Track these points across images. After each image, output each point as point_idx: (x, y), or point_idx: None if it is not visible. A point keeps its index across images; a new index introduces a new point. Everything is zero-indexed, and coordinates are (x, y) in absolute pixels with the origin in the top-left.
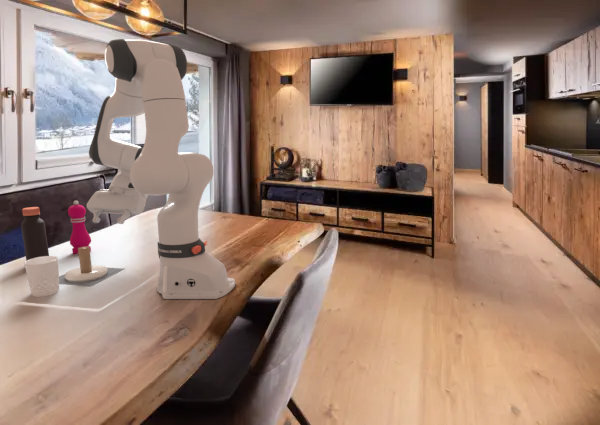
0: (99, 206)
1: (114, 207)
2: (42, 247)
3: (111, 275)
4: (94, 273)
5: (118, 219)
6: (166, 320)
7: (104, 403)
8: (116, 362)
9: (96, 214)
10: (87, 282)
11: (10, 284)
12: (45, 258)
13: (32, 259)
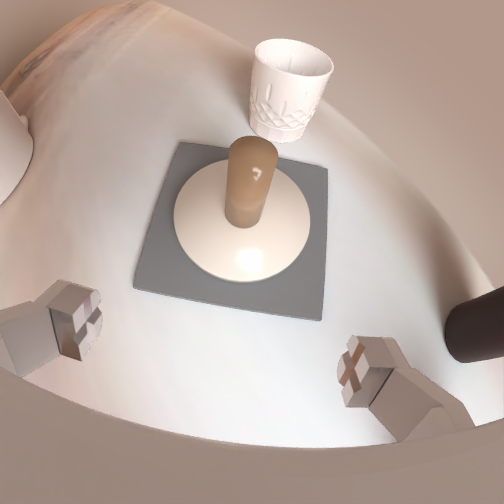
0: (447, 448)
1: (102, 423)
2: (487, 311)
3: (154, 216)
4: (203, 195)
5: (77, 296)
6: (36, 77)
7: (92, 12)
8: (87, 28)
9: (413, 409)
10: (204, 164)
11: (405, 183)
12: (311, 80)
13: (330, 69)
